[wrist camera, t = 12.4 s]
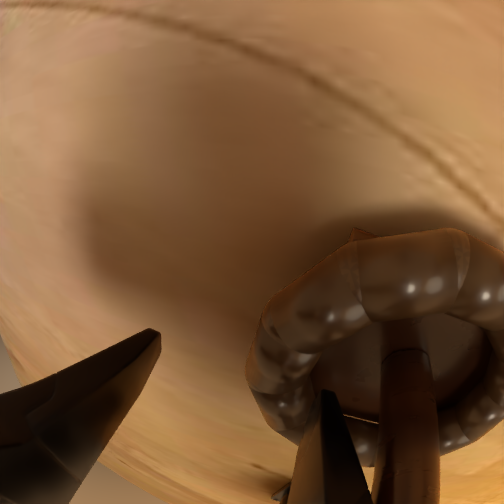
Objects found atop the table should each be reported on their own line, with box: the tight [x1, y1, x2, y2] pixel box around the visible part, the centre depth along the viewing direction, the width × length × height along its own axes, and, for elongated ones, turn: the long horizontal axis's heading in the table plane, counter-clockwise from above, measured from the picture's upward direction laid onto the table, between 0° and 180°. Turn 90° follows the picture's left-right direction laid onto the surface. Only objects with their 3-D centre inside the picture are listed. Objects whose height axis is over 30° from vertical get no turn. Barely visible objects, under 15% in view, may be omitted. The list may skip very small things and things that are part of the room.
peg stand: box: [309, 228, 493, 504], centre depth 7 cm, size 8×8×7 cm
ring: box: [245, 228, 504, 467], centre depth 9 cm, size 11×11×2 cm
